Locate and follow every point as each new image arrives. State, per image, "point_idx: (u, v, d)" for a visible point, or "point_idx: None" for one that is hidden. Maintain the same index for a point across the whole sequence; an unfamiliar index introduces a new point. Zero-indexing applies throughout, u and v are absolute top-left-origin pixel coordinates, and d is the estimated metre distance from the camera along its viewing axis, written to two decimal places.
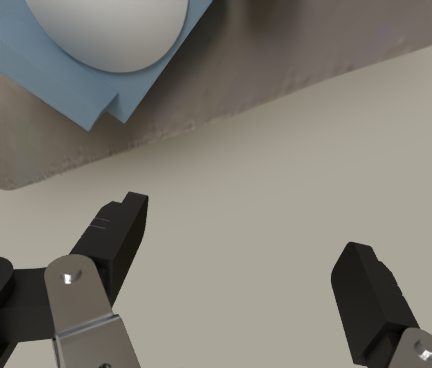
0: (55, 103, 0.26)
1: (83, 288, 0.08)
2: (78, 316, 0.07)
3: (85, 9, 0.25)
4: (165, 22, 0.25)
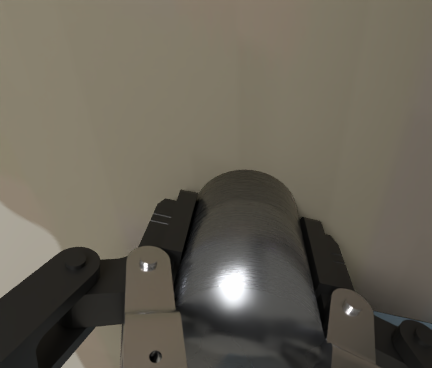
0: None
1: (163, 276, 0.09)
2: (145, 302, 0.08)
3: None
4: None
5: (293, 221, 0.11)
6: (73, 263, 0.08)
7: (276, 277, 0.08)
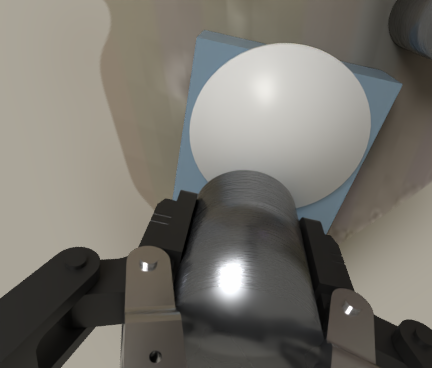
0: None
1: (163, 276, 0.09)
2: (145, 302, 0.08)
3: (265, 165, 0.25)
4: (350, 141, 0.23)
5: (292, 221, 0.11)
6: (73, 263, 0.08)
7: (275, 277, 0.08)
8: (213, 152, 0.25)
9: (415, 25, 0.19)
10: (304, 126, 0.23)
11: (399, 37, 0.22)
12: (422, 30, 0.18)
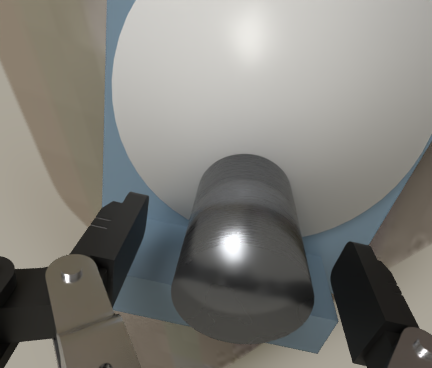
0: None
1: (84, 288, 0.08)
2: (79, 316, 0.07)
3: None
4: (402, 121, 0.13)
5: (287, 197, 0.12)
6: None
7: (271, 238, 0.09)
8: (158, 141, 0.14)
9: None
10: (319, 92, 0.12)
11: None
12: None
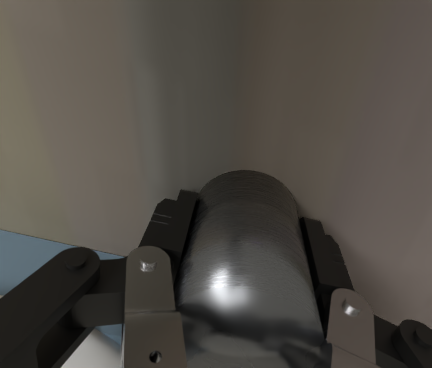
0: None
1: (163, 276, 0.09)
2: (145, 302, 0.08)
3: None
4: None
5: None
6: (73, 263, 0.08)
7: None
8: None
9: None
10: None
11: None
12: None
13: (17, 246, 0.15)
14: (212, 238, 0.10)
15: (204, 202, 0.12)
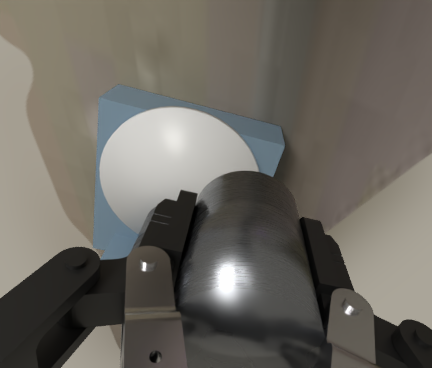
0: None
1: (163, 276, 0.09)
2: (145, 302, 0.08)
3: None
4: None
5: None
6: (73, 263, 0.08)
7: None
8: (123, 196, 0.27)
9: None
10: (201, 177, 0.25)
11: None
12: None
13: (177, 102, 0.26)
14: (213, 238, 0.10)
15: (205, 201, 0.12)
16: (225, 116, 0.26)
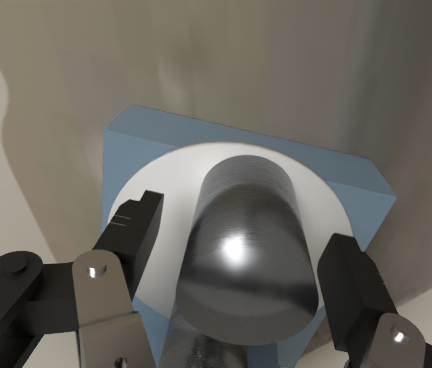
0: None
1: (110, 282, 0.08)
2: (100, 309, 0.07)
3: None
4: None
5: None
6: (12, 268, 0.08)
7: None
8: None
9: None
10: None
11: None
12: None
13: (219, 129, 0.17)
14: (219, 210, 0.11)
15: (210, 182, 0.13)
16: (292, 148, 0.17)
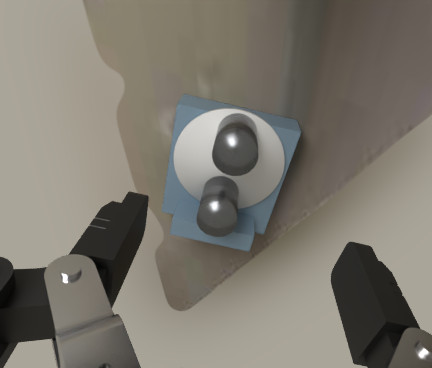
0: (224, 243, 0.39)
1: (83, 288, 0.08)
2: (78, 316, 0.07)
3: None
4: (273, 165, 0.37)
5: (233, 191, 0.37)
6: None
7: (224, 202, 0.34)
8: (188, 171, 0.38)
9: None
10: None
11: None
12: None
13: (225, 105, 0.38)
14: (226, 127, 0.31)
15: (222, 122, 0.33)
16: (258, 114, 0.38)
